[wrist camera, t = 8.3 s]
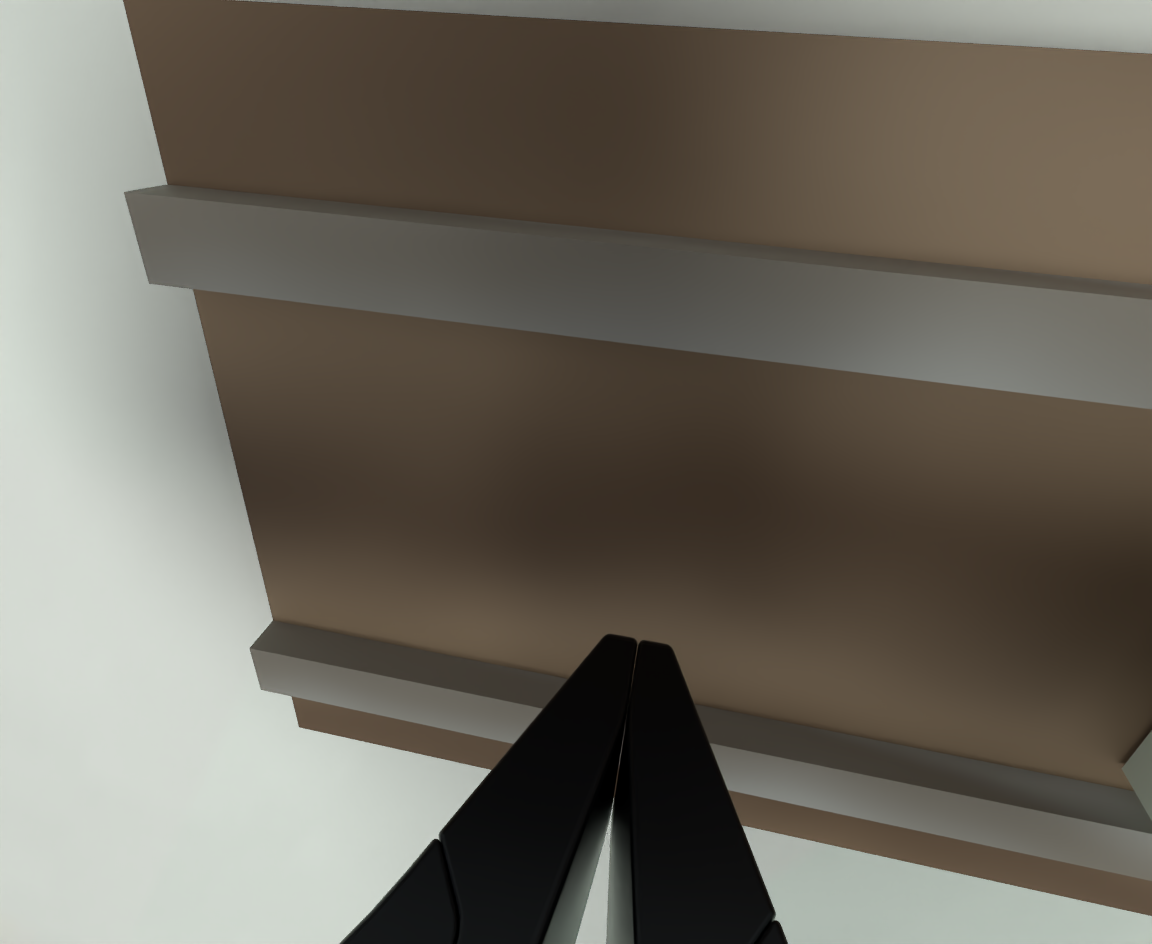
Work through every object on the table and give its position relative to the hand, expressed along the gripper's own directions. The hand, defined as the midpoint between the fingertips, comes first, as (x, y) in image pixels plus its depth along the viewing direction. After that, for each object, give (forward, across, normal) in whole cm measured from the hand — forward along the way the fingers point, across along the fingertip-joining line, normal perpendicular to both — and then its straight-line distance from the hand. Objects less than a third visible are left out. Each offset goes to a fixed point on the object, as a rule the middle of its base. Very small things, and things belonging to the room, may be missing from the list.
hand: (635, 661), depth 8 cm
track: (+4, -6, 0) cm, 7 cm away
